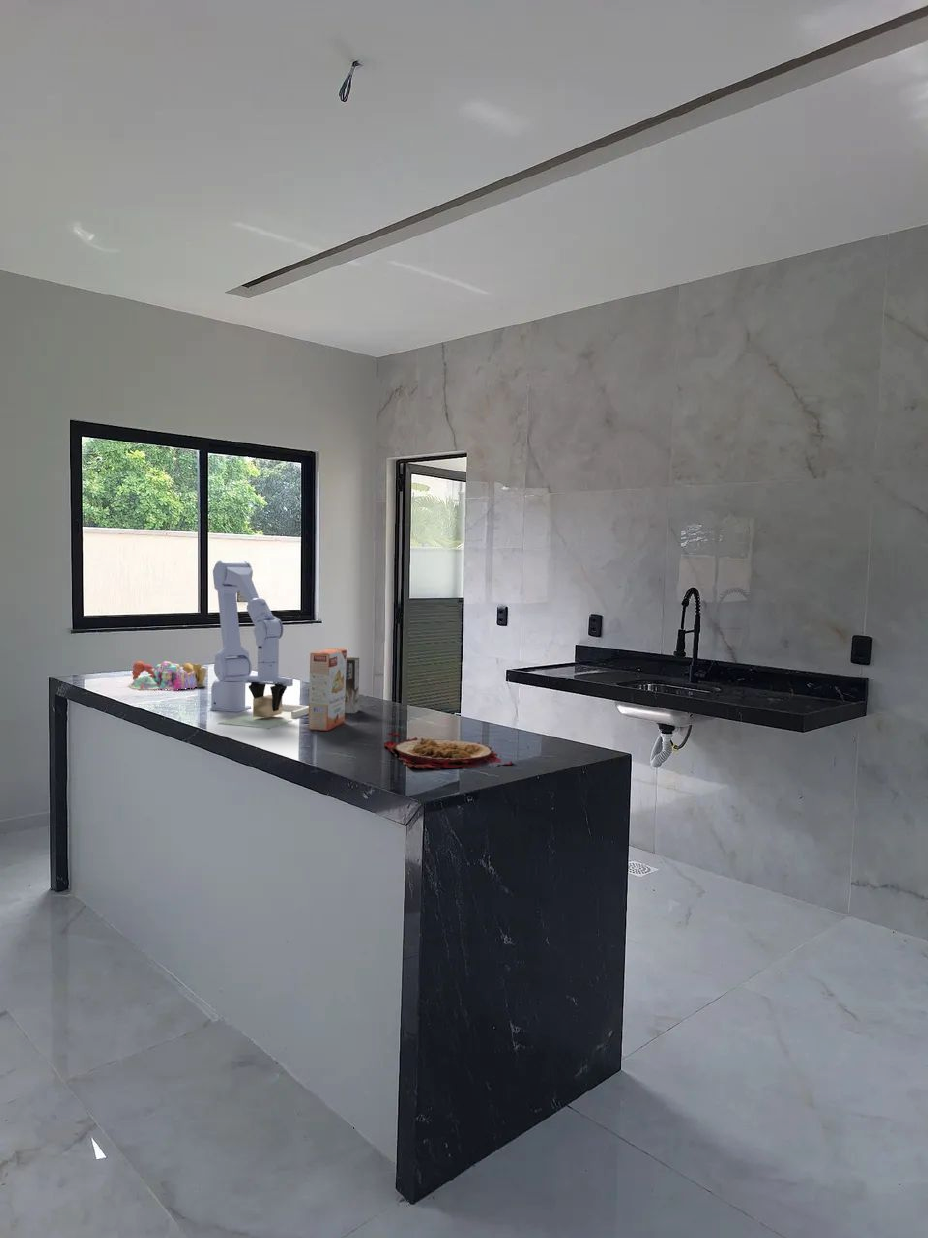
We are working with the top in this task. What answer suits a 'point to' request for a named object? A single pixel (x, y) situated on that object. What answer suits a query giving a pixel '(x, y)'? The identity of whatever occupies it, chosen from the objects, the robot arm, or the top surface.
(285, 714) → the shelf slot
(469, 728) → the top surface
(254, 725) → the stand mat
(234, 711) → the robot arm
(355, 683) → the coffee box
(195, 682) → the candy landscape model
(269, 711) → the oak block
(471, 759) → the plate with food
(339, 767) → the top surface
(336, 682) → the cracker box
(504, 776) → the top surface
